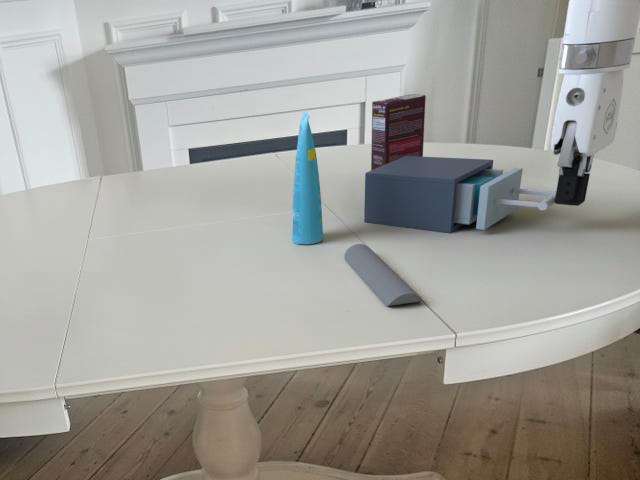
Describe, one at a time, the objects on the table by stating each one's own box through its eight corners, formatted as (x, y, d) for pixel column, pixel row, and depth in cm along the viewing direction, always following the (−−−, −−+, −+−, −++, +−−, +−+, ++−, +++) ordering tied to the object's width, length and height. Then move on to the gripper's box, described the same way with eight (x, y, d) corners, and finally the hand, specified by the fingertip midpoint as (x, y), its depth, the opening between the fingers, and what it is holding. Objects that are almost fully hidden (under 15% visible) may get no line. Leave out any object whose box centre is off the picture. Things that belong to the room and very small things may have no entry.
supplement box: (406, 178, 126) (410, 93, 119) (422, 182, 122) (427, 94, 115) (368, 186, 124) (370, 100, 117) (383, 191, 120) (386, 102, 113)
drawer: (568, 214, 93) (575, 170, 90) (536, 236, 87) (543, 190, 84) (433, 201, 107) (436, 163, 104) (397, 219, 101) (399, 179, 98)
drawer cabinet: (487, 211, 102) (493, 159, 98) (450, 233, 95) (455, 178, 91) (403, 202, 112) (405, 155, 108) (364, 222, 105) (365, 172, 101)
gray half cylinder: (372, 253, 91) (372, 241, 91) (425, 305, 74) (425, 291, 73) (342, 257, 92) (342, 245, 91) (388, 310, 74) (389, 296, 73)
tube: (327, 245, 97) (327, 113, 88) (296, 249, 97) (292, 118, 88) (317, 231, 104) (316, 107, 95) (288, 235, 104) (283, 112, 95)
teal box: (491, 206, 97) (494, 177, 95) (477, 214, 95) (480, 184, 93) (461, 203, 100) (464, 175, 98) (448, 211, 98) (450, 182, 96)
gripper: (610, 63, 72) (580, 221, 80) (649, 48, 80) (618, 192, 89) (538, 67, 77) (517, 214, 85) (582, 52, 85) (559, 188, 94)
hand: (569, 203), depth 87 cm, fingers closed
